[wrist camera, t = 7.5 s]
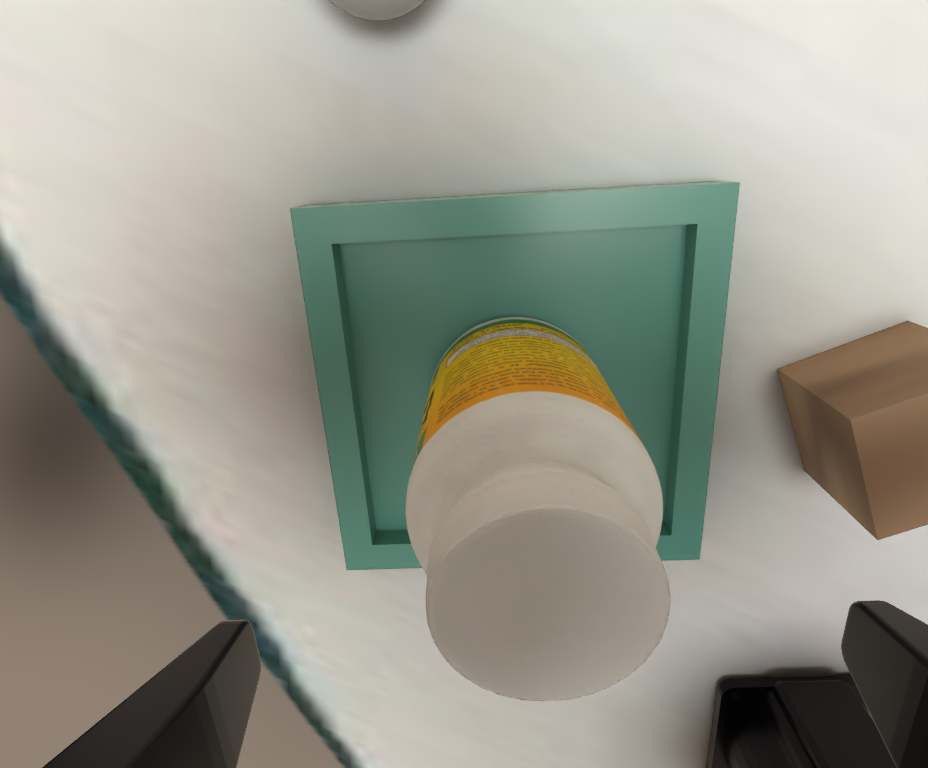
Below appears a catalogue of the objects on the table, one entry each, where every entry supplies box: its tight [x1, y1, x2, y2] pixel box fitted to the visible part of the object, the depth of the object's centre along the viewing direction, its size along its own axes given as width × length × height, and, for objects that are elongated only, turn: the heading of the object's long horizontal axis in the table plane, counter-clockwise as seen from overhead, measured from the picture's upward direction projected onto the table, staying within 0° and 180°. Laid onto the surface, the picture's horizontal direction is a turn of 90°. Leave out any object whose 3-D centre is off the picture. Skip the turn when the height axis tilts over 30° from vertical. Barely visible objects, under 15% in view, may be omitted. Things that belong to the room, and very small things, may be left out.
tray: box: [290, 181, 740, 570], centre depth 18 cm, size 12×12×1 cm
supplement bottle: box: [406, 317, 670, 701], centre depth 14 cm, size 5×5×10 cm
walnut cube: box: [778, 321, 928, 540], centre depth 17 cm, size 4×4×4 cm
